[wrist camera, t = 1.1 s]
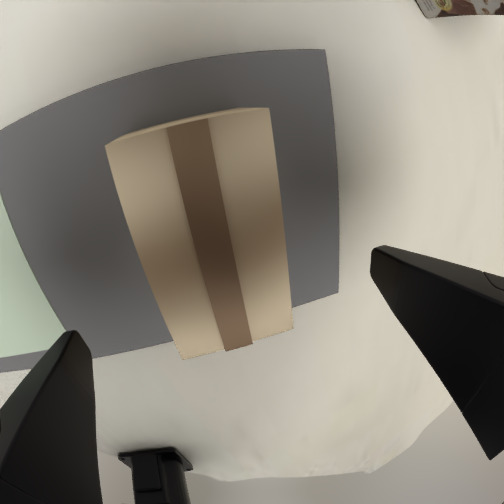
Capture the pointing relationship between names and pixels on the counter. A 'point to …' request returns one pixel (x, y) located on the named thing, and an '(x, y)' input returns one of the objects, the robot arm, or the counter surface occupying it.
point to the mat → (110, 210)
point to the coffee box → (460, 7)
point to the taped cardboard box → (208, 226)
